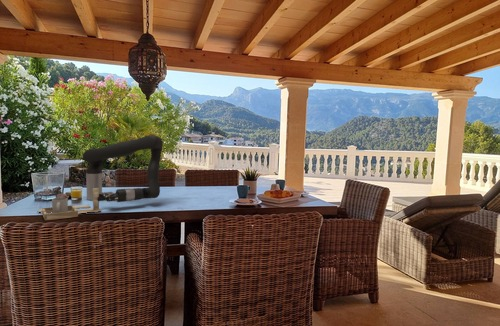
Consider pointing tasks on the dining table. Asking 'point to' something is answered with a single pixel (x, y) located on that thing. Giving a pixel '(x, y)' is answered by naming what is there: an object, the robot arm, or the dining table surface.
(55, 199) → the cup
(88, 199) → the robot arm
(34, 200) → the dining table surface
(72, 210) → the tan wooden stand
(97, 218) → the dining table surface
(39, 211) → the broken strip
